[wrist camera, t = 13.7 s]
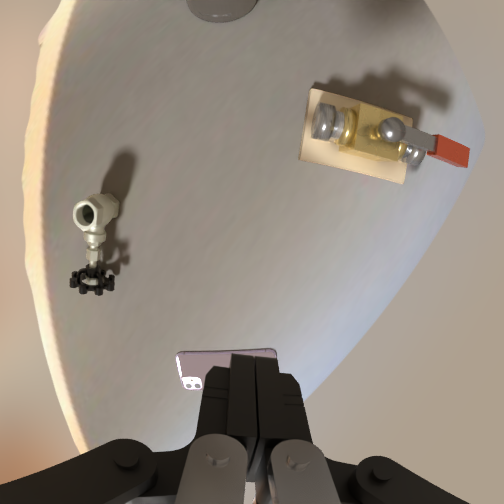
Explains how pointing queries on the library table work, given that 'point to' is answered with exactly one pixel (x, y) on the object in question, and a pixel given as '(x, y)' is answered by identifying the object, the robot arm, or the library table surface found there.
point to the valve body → (361, 133)
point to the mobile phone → (208, 364)
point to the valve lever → (424, 142)
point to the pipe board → (329, 150)
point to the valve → (94, 241)
